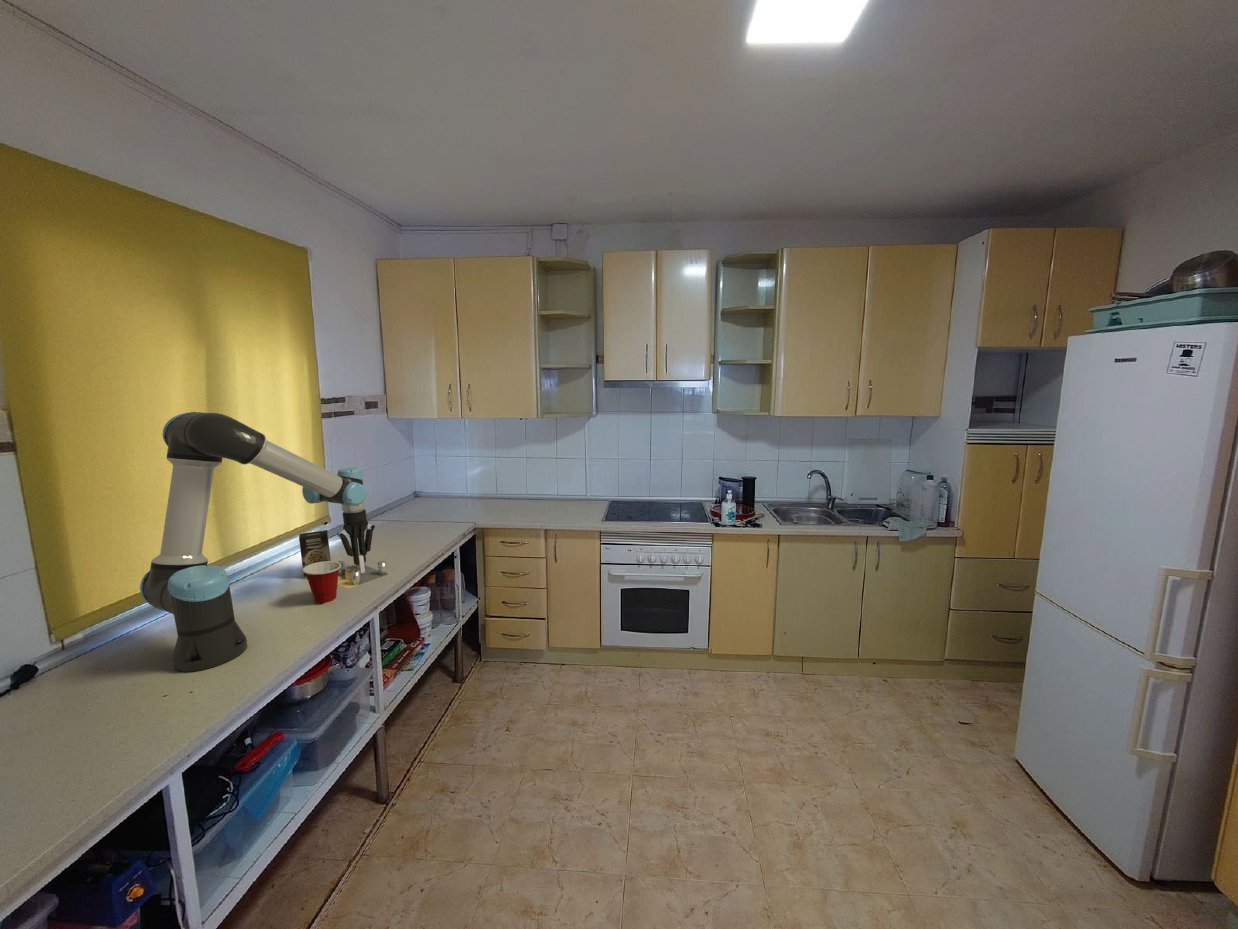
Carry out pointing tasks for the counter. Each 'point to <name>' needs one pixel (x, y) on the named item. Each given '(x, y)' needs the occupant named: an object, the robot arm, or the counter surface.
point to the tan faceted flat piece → (349, 574)
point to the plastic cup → (323, 580)
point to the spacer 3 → (382, 568)
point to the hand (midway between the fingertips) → (361, 571)
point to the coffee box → (314, 548)
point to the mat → (365, 577)
